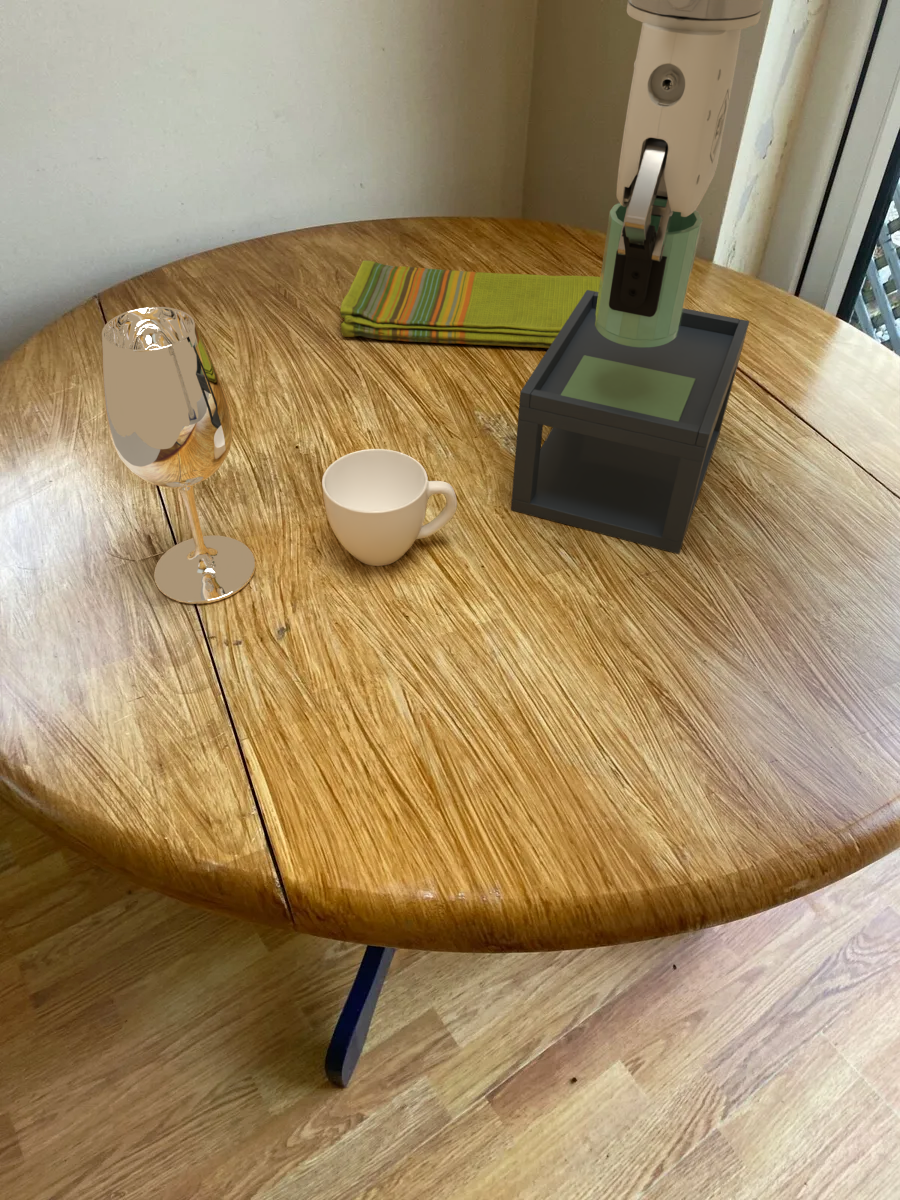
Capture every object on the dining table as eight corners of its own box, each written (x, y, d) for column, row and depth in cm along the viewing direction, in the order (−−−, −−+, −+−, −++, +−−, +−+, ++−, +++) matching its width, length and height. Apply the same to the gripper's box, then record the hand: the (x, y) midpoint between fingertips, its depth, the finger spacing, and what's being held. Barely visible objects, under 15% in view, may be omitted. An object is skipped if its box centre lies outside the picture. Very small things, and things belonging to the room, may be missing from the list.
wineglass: (226, 617, 65) (170, 370, 51) (132, 591, 67) (53, 346, 53) (275, 549, 71) (237, 309, 57) (187, 527, 72) (128, 289, 58)
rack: (719, 434, 83) (749, 320, 75) (678, 554, 71) (709, 434, 63) (572, 401, 87) (586, 289, 79) (510, 510, 75) (520, 391, 67)
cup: (326, 521, 73) (319, 452, 69) (448, 511, 74) (449, 442, 70) (331, 586, 68) (324, 516, 63) (463, 574, 69) (466, 504, 64)
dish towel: (360, 275, 105) (358, 247, 103) (671, 291, 103) (676, 263, 101) (338, 340, 94) (335, 311, 92) (684, 360, 92) (691, 330, 90)
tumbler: (686, 316, 67) (709, 206, 61) (668, 354, 63) (692, 240, 57) (606, 301, 68) (623, 192, 63) (585, 337, 64) (600, 224, 59)
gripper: (739, 28, 44) (670, 359, 57) (785, -37, 56) (719, 251, 68) (591, 11, 46) (556, 335, 59) (664, -48, 58) (622, 234, 70)
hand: (644, 287), depth 63 cm, fingers closed on tumbler, 6 cm apart
